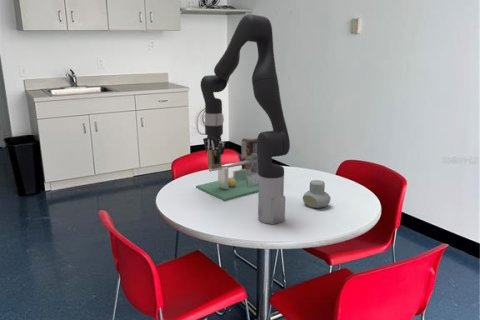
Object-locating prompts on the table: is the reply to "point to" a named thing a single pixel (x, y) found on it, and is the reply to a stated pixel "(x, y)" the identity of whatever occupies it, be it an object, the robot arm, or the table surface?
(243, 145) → the coffee box
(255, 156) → the rod support
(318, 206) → the air freshener
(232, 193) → the pitch
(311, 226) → the table surface
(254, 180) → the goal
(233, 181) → the ball
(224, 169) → the rod
